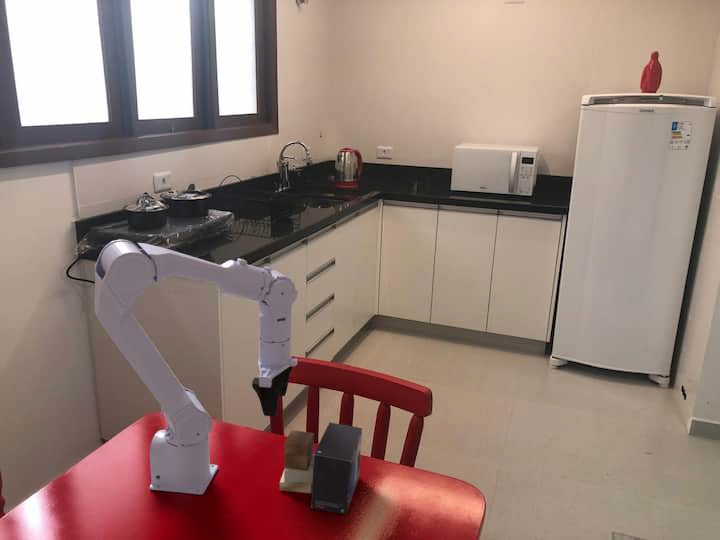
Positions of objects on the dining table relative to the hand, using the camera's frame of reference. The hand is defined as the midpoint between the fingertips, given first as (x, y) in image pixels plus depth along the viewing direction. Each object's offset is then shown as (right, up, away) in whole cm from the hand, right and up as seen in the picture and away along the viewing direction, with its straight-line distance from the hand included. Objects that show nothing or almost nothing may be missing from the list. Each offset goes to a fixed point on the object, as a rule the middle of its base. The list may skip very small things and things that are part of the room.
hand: (275, 404), depth 107 cm
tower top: (+5, -11, -5) cm, 13 cm away
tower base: (+5, -13, -5) cm, 15 cm away
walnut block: (+5, -9, -6) cm, 12 cm away
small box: (+12, -14, -8) cm, 20 cm away
